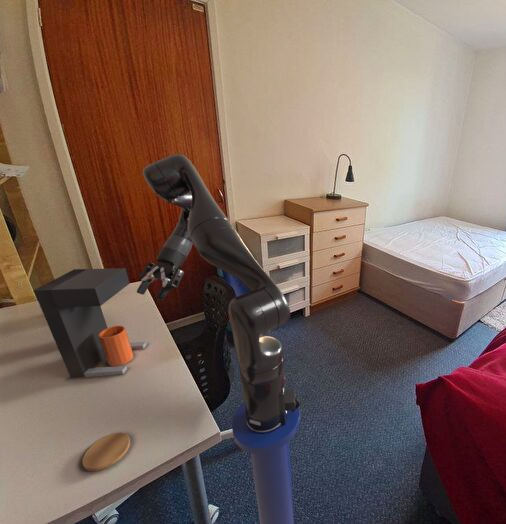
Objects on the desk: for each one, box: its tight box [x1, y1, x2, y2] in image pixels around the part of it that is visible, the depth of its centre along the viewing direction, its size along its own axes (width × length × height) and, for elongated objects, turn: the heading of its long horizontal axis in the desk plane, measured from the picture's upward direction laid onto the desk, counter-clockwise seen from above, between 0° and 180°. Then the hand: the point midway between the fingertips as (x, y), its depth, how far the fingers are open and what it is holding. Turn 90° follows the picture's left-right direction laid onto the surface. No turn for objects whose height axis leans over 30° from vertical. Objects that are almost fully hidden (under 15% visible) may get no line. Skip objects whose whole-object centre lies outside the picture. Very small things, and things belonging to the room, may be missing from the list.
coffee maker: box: [33, 267, 148, 379], centre depth 79 cm, size 13×13×27 cm
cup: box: [98, 325, 134, 367], centre depth 82 cm, size 6×6×10 cm
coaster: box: [81, 432, 131, 472], centre depth 58 cm, size 8×8×1 cm
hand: (149, 296), depth 87 cm, fingers open, 8 cm apart
